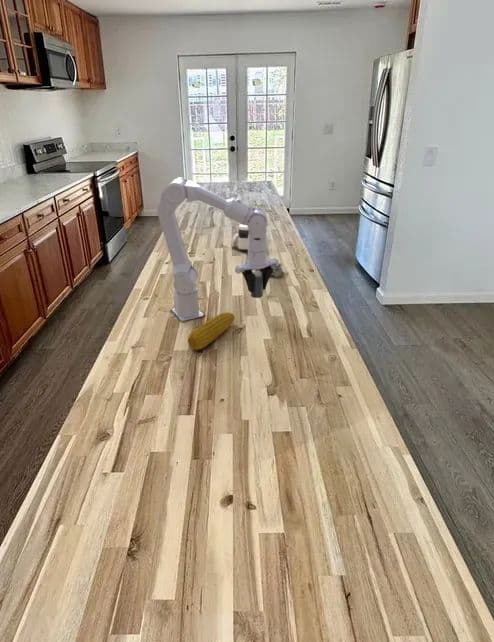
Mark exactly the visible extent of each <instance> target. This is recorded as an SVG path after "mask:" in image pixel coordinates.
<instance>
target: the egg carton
mask: <svg viewBox="0 0 494 642" xmlns="http://www.w3.org/2000/svg"><path fill="white" fill-rule="evenodd" d="M282 267H283V263H282V262H279V266H271V268H272V269H273V273H272V274H271V276H270V277H275V278H278V277H282ZM255 271H260V270H259V269H255Z"/></svg>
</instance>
